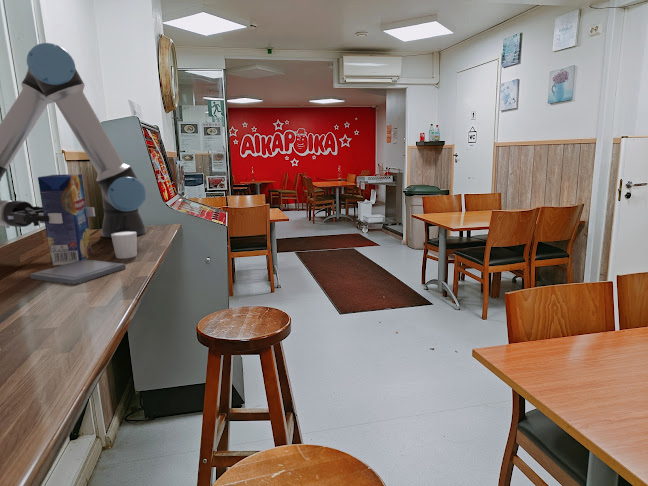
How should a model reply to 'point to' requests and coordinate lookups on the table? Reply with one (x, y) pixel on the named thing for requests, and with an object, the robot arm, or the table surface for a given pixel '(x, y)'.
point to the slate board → (77, 271)
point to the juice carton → (66, 218)
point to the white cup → (125, 244)
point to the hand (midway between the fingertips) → (78, 215)
